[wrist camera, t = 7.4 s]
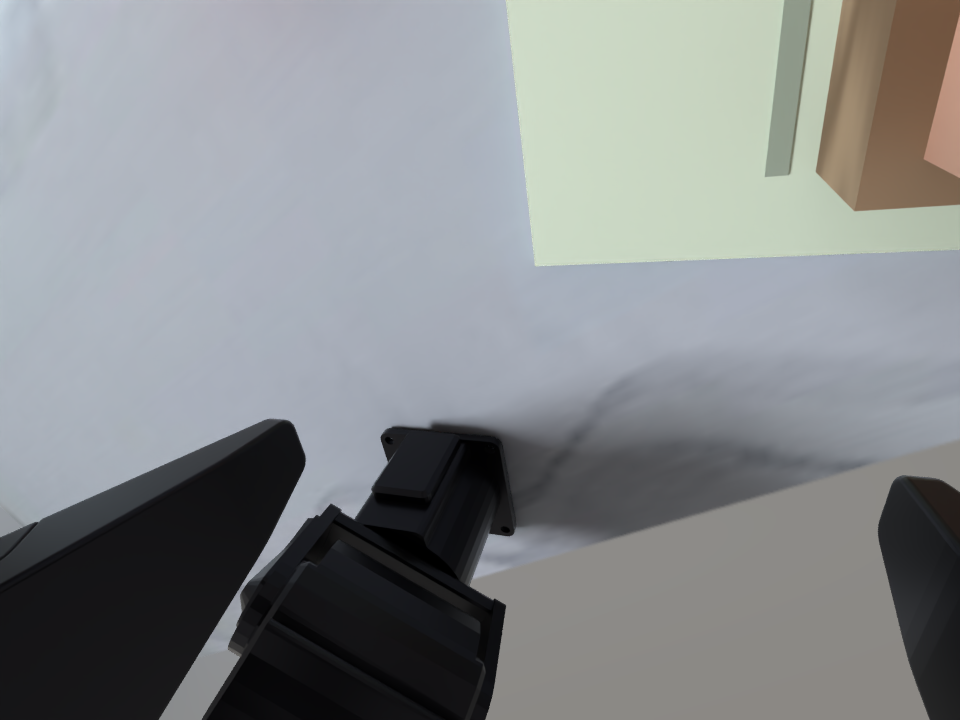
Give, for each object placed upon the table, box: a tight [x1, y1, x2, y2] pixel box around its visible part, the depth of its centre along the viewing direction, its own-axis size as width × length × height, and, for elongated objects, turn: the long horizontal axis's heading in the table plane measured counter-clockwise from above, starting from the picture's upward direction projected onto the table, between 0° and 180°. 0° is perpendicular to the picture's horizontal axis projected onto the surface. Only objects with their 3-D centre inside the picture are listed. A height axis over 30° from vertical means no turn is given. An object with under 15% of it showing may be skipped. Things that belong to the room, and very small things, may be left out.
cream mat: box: [506, 0, 960, 266], centre depth 13 cm, size 13×16×1 cm
